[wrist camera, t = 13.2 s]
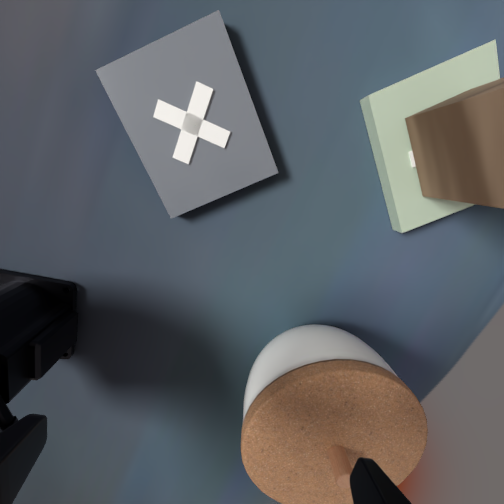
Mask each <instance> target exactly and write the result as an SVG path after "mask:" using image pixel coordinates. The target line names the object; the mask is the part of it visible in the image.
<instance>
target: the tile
mask: <svg viewBox="0 0 504 504" xmlns="http://www.w3.org/2000/svg"><path fill="white" fill-rule="evenodd" d="M95 71H96V73H97V75H98V77H99V78H100V80H101V82H102V84H103V86H104V88H105V90H106V92H107V94H108V96H109V98H110V100H111V102H112V104H113V106H114V108H115V110H116V112H117V114H118V116H119V118H120V120H121V121H122V123H123V125H124V127H125V129H126V131H127V133H128V135H129V137H130V139H131V141H132V143H133V145H134V147H135V149H136V151H137V153H138V155H139V157H140V159H141V161H142V163H143V164H144V166H145V168H146V170H147V172H148V174H149V176H150V178H151V180H152V182H153V184H154V186H155V188H156V190H157V192H158V194H159V196H160V198H161V200H162V202H163V204H164V206H165V207H166V209H167V211H168V213H169V215H170V217H171V219H172V218H174V217H176V216H179V215H181V214H183V213H186V212H188V211H190V210H193V209H195V208H197V207H200V206H202V205H204V204H207V203H209V202H211V201H214V200H216V199H218V198H221V197H223V196H225V195H228V194H230V193H232V192H235V191H237V190H239V189H242V188H244V187H246V186H249V185H251V184H253V183H256V182H258V181H261V180H263V179H265V178H268V177H270V176H272V175H275V174H277V173H278V170H277V167H276V164H275V162H274V159H273V156H272V154H271V151H270V148H269V145H268V143H267V140H266V137H265V134H264V132H263V129H262V126H261V124H260V121H259V118H258V115H257V113H256V110H255V107H254V104H253V102H252V99H251V96H250V94H249V91H248V88H247V85H246V83H245V80H244V77H243V74H242V72H241V69H240V66H239V64H238V61H237V58H236V55H235V53H234V50H233V47H232V44H231V42H230V39H229V36H228V34H227V31H226V28H225V25H224V23H223V20H222V17H221V14H220V12H219V10H218V11H216V12H214V13H212V14H210V15H208V16H206V17H203V18H201V19H199V20H197V21H195V22H193V23H191V24H189V25H187V26H185V27H183V28H181V29H179V30H177V31H175V32H173V33H171V34H169V35H167V36H165V37H163V38H161V39H159V40H156V41H154V42H152V43H150V44H148V45H146V46H144V47H142V48H140V49H138V50H136V51H134V52H132V53H130V54H128V55H126V56H124V57H122V58H120V59H118V60H116V61H114V62H112V63H110V64H107V65H105V66H103V67H101V68H99V69H97V70H95Z"/></svg>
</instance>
